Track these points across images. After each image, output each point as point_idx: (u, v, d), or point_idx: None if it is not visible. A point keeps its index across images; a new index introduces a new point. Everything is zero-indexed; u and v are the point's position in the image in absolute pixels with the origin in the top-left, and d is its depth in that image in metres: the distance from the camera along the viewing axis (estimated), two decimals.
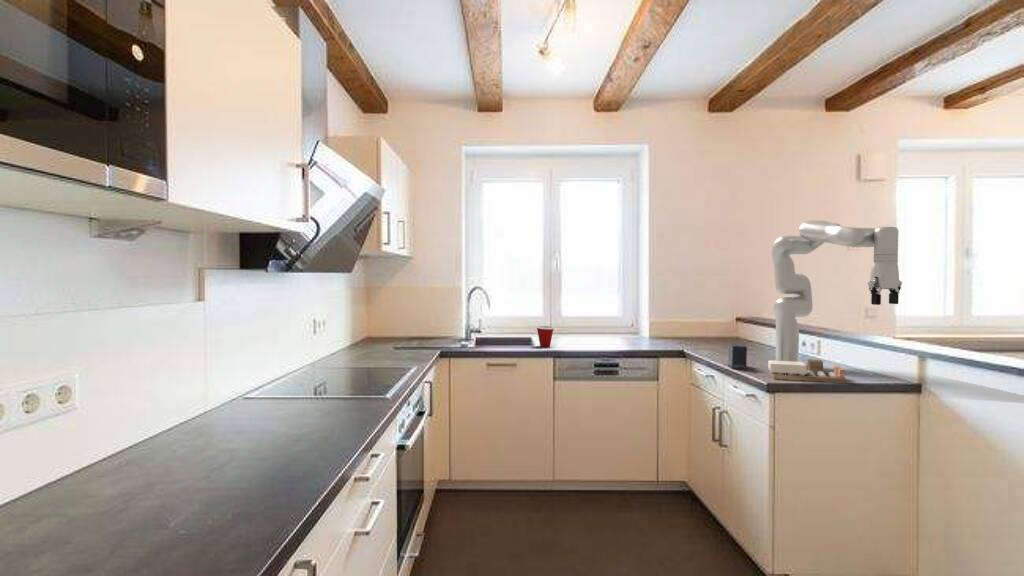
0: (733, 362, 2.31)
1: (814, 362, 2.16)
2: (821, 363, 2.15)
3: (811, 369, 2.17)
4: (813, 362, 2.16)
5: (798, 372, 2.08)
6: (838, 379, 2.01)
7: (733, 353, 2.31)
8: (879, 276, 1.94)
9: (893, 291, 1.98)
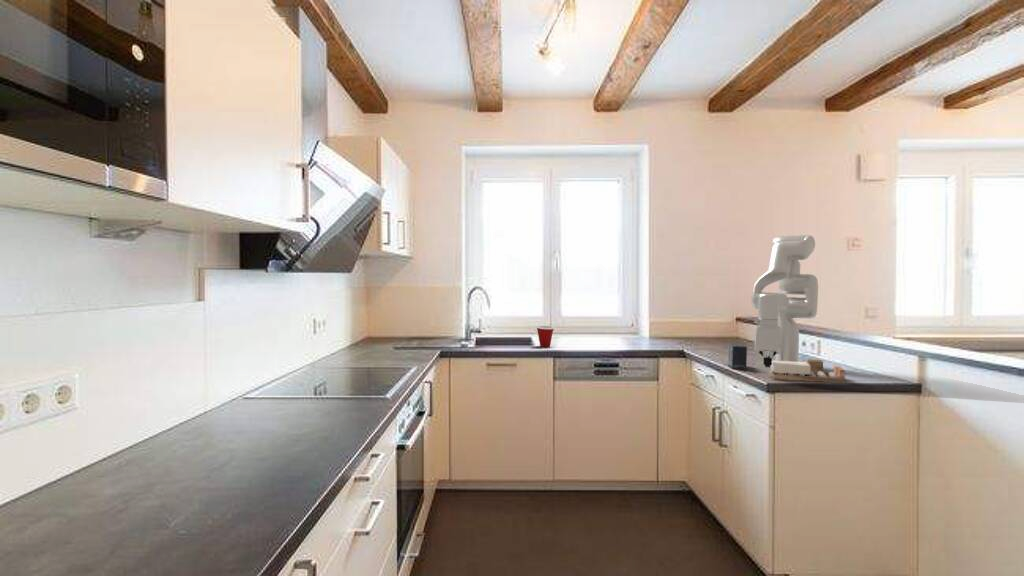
0: (733, 362, 2.31)
1: (814, 362, 2.16)
2: (821, 363, 2.15)
3: (811, 369, 2.17)
4: (813, 362, 2.16)
5: (802, 372, 2.07)
6: (838, 379, 2.01)
7: (733, 353, 2.31)
8: None
9: None
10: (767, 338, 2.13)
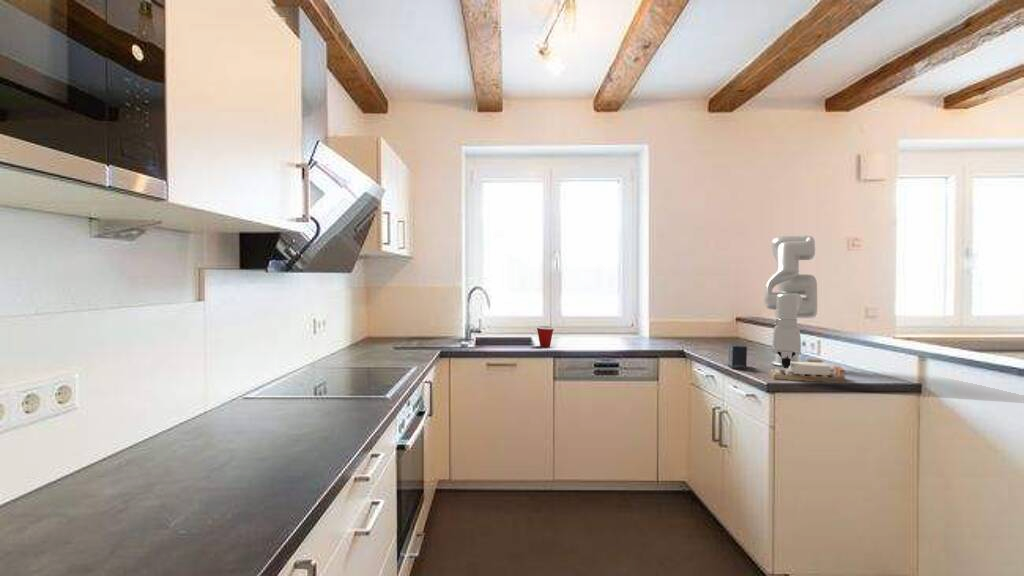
0: (733, 362, 2.31)
1: None
2: None
3: None
4: None
5: (822, 373, 2.05)
6: (838, 379, 2.01)
7: (733, 353, 2.31)
8: None
9: None
10: (786, 338, 2.10)
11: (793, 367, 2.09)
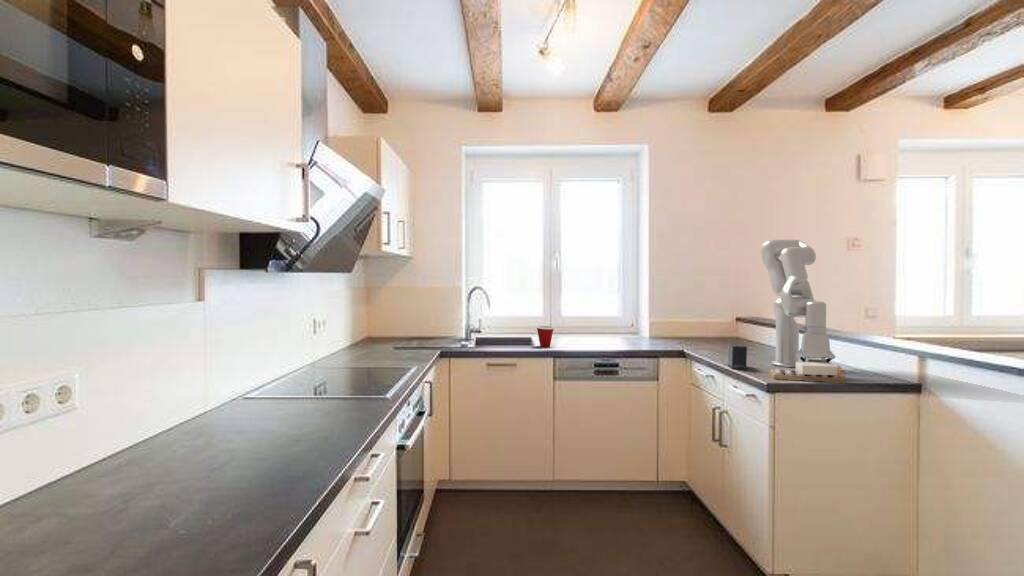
0: (733, 362, 2.31)
1: None
2: None
3: None
4: None
5: (830, 373, 2.05)
6: (838, 379, 2.01)
7: (733, 353, 2.31)
8: None
9: None
10: (815, 345, 2.16)
11: (801, 368, 2.08)
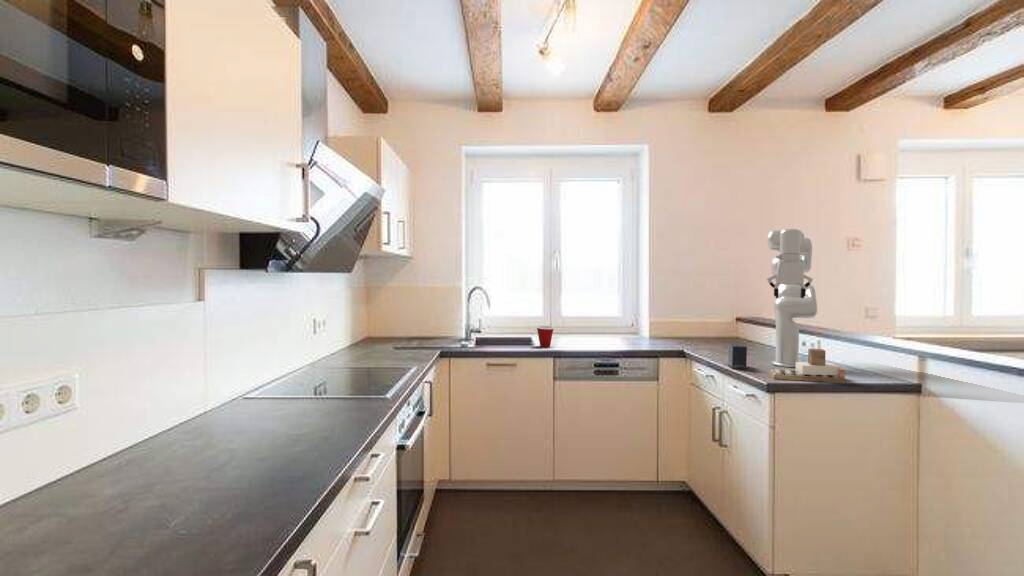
0: (733, 362, 2.31)
1: (816, 351, 2.07)
2: (823, 352, 2.06)
3: (813, 358, 2.07)
4: (815, 351, 2.07)
5: (830, 373, 2.05)
6: (838, 379, 2.01)
7: (733, 353, 2.31)
8: None
9: None
10: (789, 272, 2.18)
11: (801, 368, 2.08)
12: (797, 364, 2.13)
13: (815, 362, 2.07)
